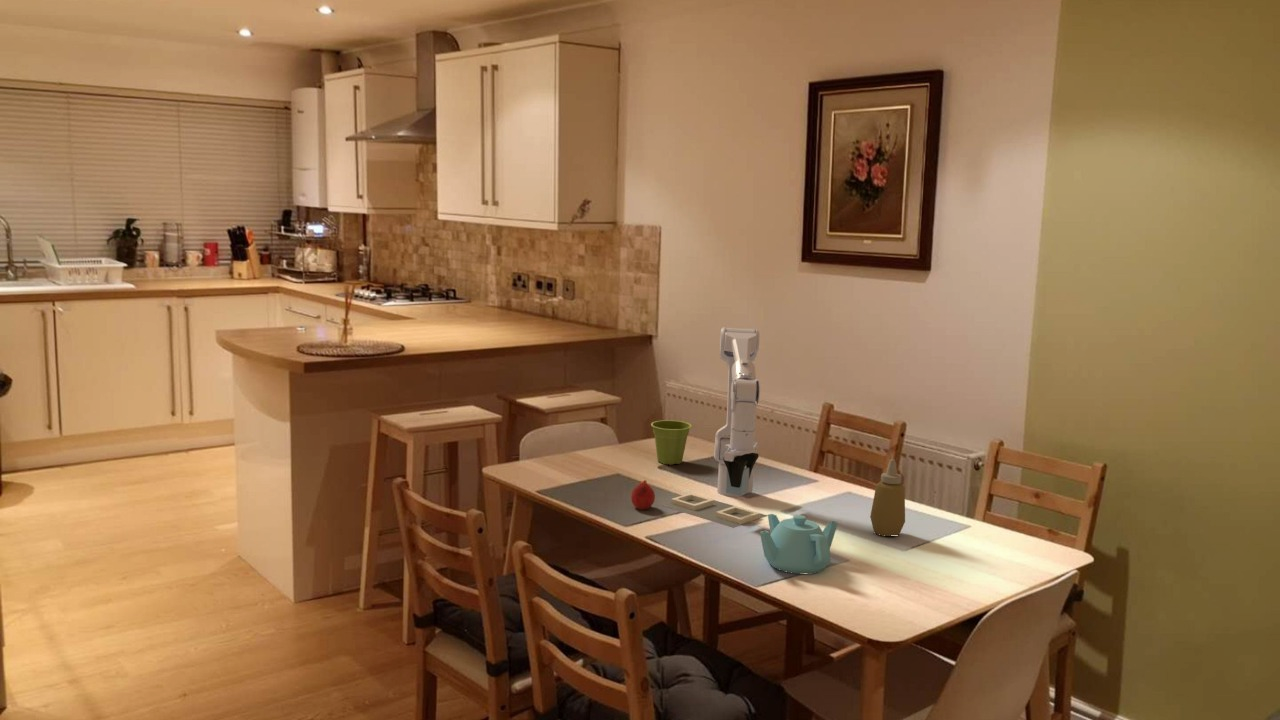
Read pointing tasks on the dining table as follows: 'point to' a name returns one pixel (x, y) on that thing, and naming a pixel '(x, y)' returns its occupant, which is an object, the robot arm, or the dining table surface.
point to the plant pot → (670, 440)
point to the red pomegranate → (643, 496)
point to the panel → (713, 510)
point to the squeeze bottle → (889, 503)
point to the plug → (743, 486)
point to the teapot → (797, 544)
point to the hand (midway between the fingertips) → (739, 484)
